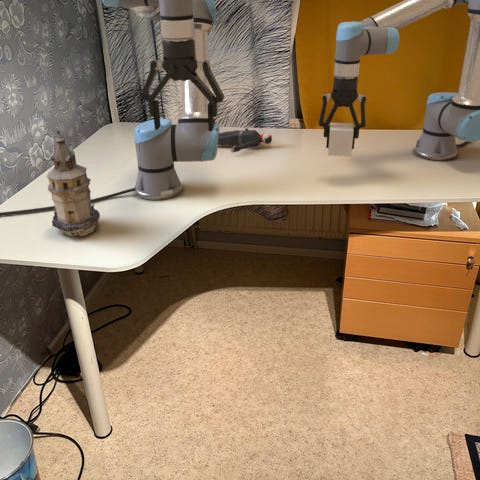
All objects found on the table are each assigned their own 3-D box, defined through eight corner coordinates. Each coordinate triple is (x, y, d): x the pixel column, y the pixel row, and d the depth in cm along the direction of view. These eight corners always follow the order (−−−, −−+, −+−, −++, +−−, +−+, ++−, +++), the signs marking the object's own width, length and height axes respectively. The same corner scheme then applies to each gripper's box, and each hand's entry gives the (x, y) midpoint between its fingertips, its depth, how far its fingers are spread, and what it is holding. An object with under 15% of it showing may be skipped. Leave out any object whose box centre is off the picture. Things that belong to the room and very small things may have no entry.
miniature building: (80, 214, 164) (63, 117, 149) (111, 225, 157) (96, 125, 142) (44, 231, 154) (22, 130, 140) (75, 244, 147) (55, 139, 133)
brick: (350, 148, 180) (353, 123, 176) (351, 156, 174) (353, 130, 169) (328, 147, 181) (330, 122, 177) (328, 155, 175) (330, 129, 170)
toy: (206, 121, 227) (276, 121, 221) (207, 135, 230) (276, 136, 224) (189, 141, 205) (266, 142, 199) (190, 156, 208) (267, 158, 202)
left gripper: (234, 36, 124) (236, 125, 135) (131, 35, 127) (140, 122, 138) (229, 41, 118) (231, 135, 128) (120, 40, 121) (131, 131, 131)
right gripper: (378, 74, 167) (370, 144, 178) (313, 72, 170) (309, 142, 181) (380, 79, 161) (372, 152, 172) (312, 78, 164) (308, 149, 175)
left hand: (184, 128), depth 133 cm, fingers open, 13 cm apart
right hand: (339, 147), depth 177 cm, fingers closed on brick, 7 cm apart
